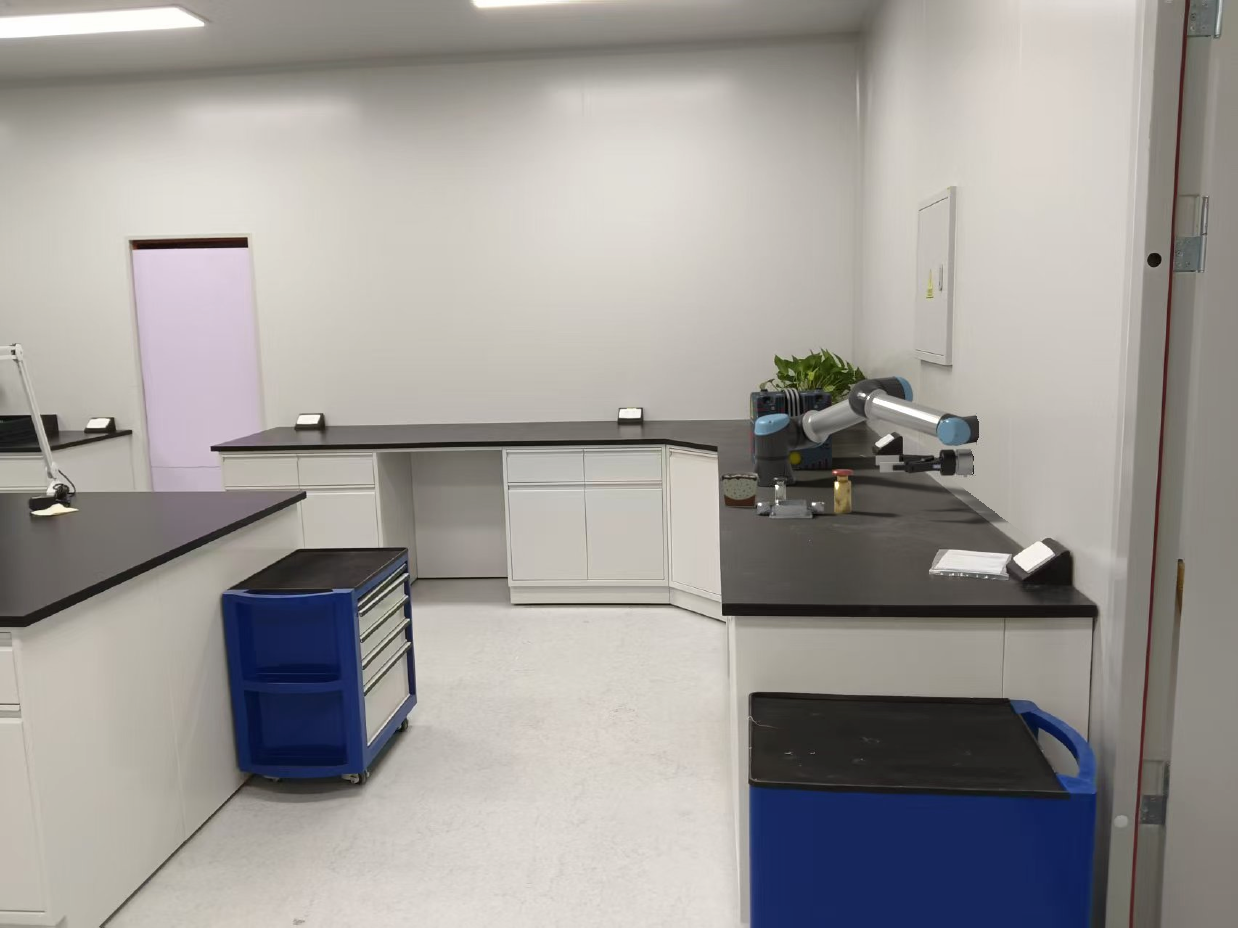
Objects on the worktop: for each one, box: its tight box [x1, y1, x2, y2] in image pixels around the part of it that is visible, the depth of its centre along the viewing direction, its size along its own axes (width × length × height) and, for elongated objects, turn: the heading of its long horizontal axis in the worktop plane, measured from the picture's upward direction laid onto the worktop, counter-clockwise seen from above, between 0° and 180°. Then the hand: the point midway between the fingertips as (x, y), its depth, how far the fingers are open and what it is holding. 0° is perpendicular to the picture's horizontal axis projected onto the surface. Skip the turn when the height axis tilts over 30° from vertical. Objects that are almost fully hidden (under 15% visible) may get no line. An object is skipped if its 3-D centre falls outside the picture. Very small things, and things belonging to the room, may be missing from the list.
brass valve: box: [831, 468, 854, 515], centre depth 284 cm, size 6×6×12 cm
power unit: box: [749, 386, 833, 471], centre depth 375 cm, size 28×28×30 cm
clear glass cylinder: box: [774, 477, 787, 501], centre depth 297 cm, size 4×4×9 cm
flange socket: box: [756, 499, 825, 520], centre depth 284 cm, size 12×19×4 cm, turn 80°
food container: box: [719, 471, 760, 508], centre depth 300 cm, size 12×6×10 cm, turn 74°
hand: (877, 463), depth 281 cm, fingers open, 13 cm apart
